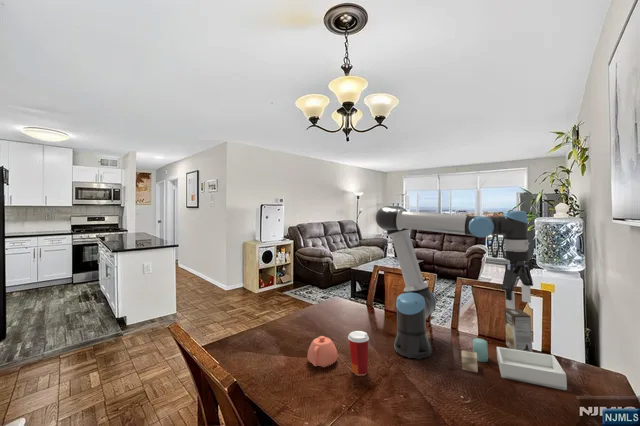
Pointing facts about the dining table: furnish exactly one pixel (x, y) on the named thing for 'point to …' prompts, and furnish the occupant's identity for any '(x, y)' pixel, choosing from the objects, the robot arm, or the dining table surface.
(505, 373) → the tray
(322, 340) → the sugar bowl
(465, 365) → the beech cube
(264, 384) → the dining table surface
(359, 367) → the paper cup
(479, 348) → the teal cylinder
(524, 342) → the coffee box
